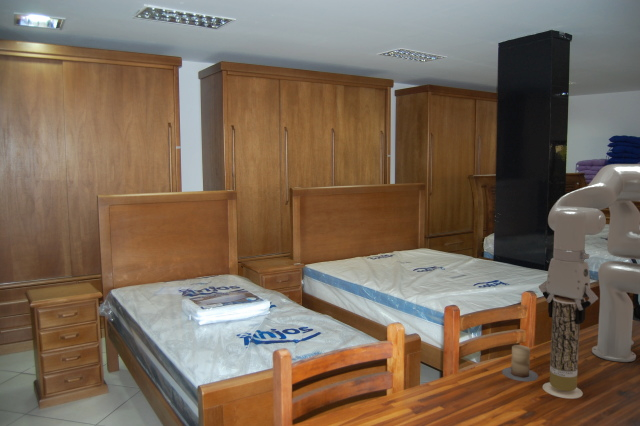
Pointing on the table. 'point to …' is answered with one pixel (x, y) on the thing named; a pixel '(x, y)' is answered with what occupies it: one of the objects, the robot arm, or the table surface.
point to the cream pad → (562, 392)
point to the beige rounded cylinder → (520, 361)
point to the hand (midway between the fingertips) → (565, 319)
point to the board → (531, 377)
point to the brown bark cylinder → (564, 344)
